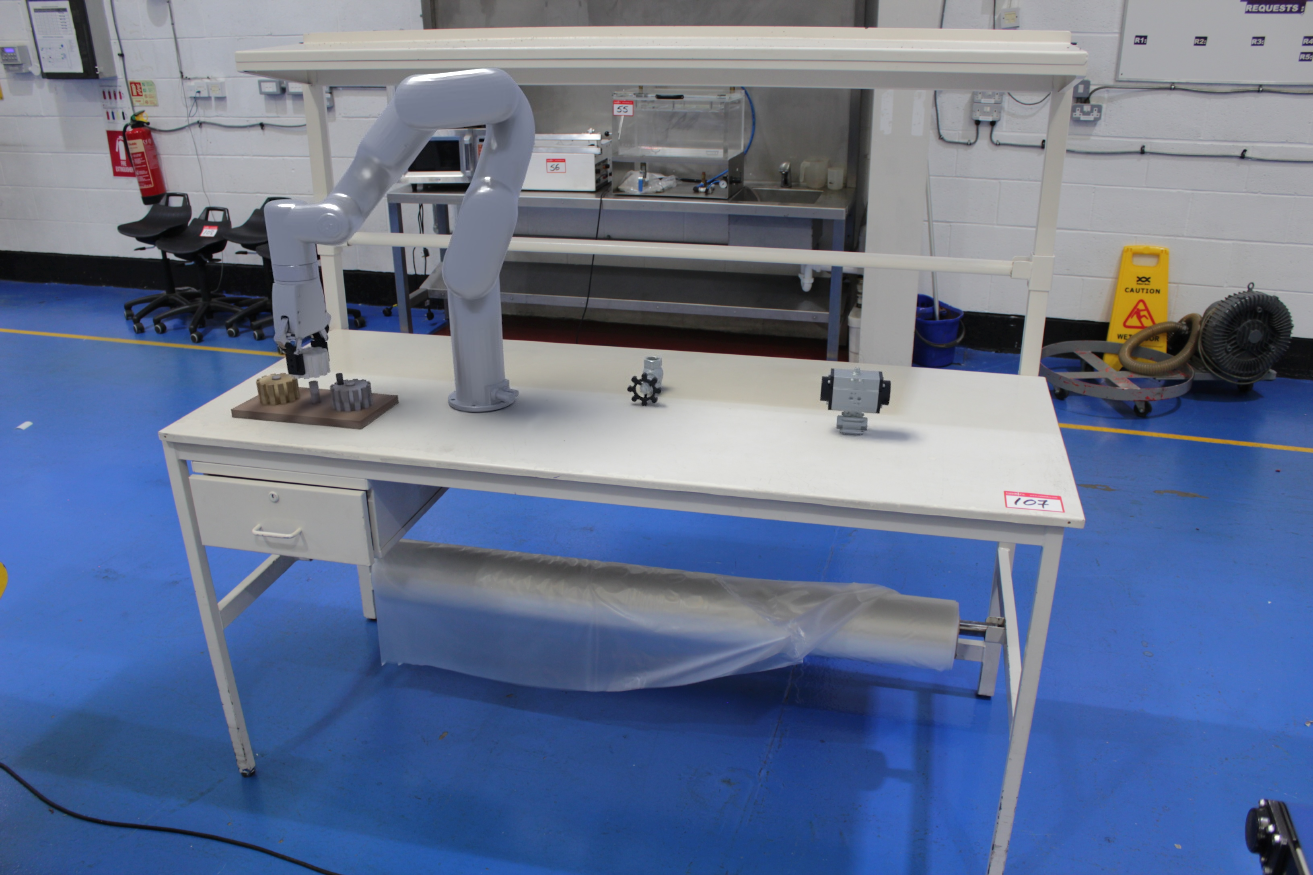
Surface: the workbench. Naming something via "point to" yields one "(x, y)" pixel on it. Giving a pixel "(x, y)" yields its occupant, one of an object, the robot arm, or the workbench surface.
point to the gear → (314, 362)
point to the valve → (648, 380)
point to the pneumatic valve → (854, 396)
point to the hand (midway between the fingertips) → (309, 367)
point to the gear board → (315, 410)
